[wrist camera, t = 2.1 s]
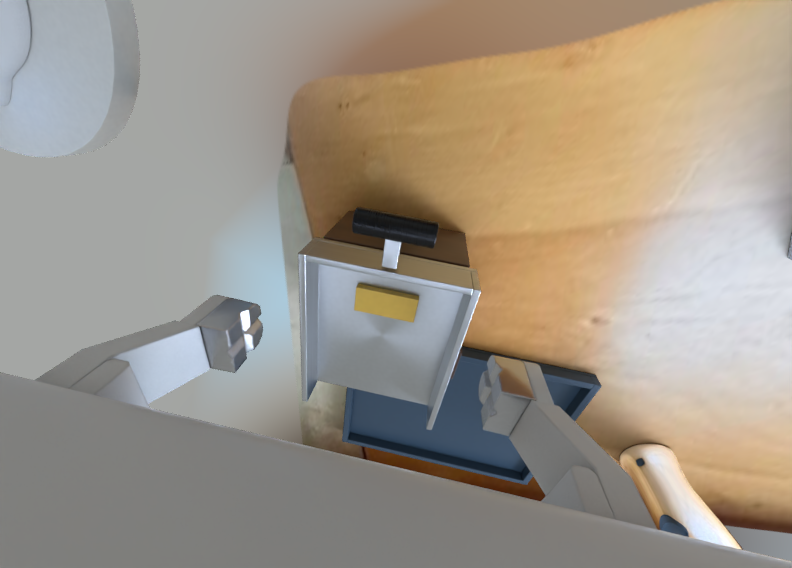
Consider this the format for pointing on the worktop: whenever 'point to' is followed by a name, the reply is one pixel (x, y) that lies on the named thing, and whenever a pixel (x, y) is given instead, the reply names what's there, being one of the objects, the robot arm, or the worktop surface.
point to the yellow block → (386, 303)
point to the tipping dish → (377, 335)
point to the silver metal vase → (672, 495)
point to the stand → (409, 247)
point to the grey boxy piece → (790, 249)
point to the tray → (457, 420)
